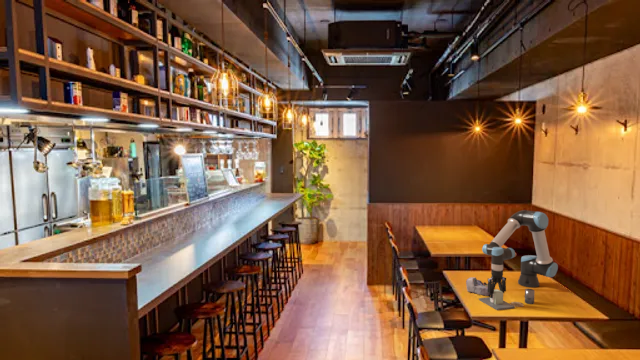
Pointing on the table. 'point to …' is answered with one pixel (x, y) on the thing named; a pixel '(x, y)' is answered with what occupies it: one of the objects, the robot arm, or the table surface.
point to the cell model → (477, 286)
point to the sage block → (498, 297)
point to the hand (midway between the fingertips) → (496, 301)
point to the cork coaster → (517, 304)
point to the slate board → (497, 306)
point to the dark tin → (529, 296)
